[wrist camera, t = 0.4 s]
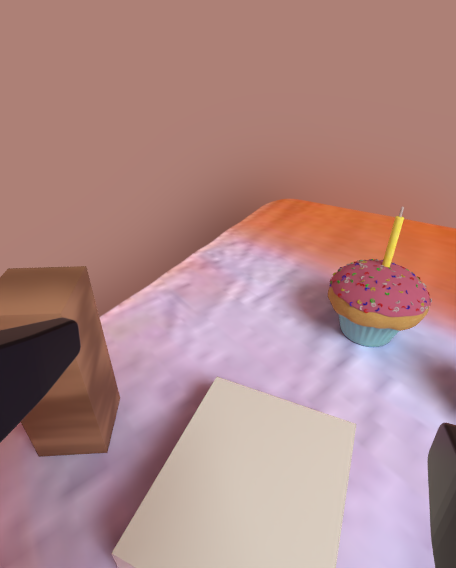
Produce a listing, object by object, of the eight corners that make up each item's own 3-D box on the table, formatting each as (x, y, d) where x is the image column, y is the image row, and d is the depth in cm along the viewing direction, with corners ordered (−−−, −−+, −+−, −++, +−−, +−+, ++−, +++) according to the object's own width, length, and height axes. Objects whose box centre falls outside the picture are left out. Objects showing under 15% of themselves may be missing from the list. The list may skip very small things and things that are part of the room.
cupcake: (332, 296, 39) (354, 191, 32) (416, 318, 36) (459, 206, 29) (311, 345, 32) (333, 225, 26) (411, 377, 29) (466, 250, 23)
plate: (311, 688, 15) (320, 676, 14) (120, 572, 18) (111, 553, 17) (348, 446, 24) (356, 424, 23) (217, 398, 27) (216, 376, 26)
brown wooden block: (107, 452, 24) (60, 313, 17) (39, 456, 24) (-35, 317, 17) (120, 397, 27) (86, 266, 21) (61, 400, 27) (8, 268, 21)
